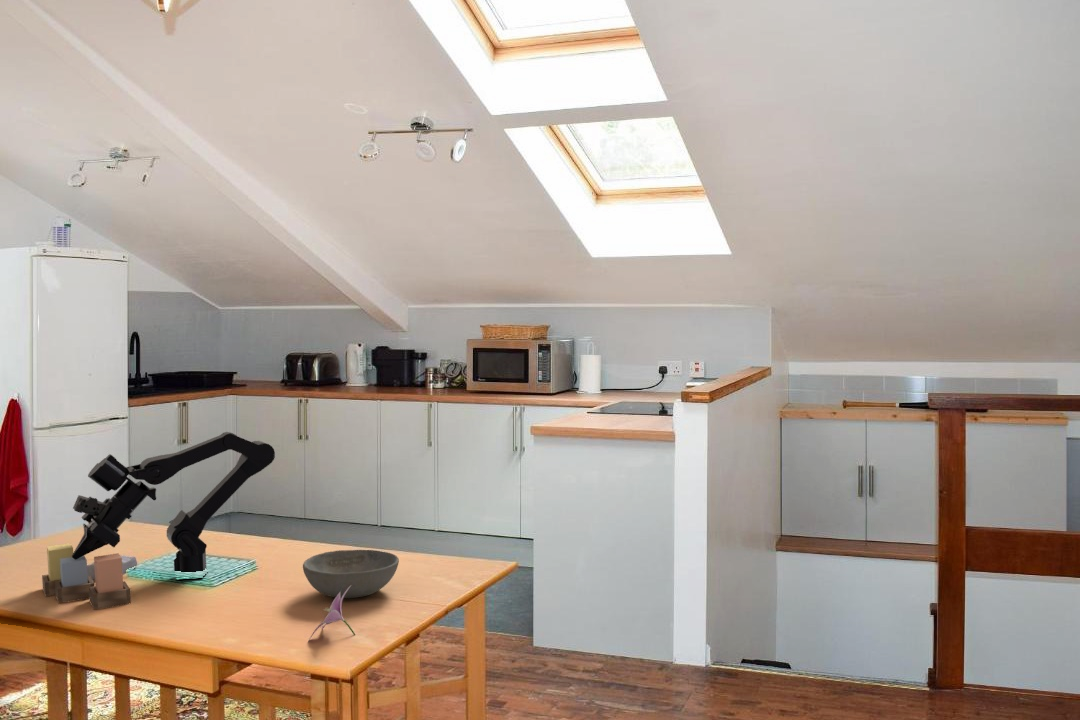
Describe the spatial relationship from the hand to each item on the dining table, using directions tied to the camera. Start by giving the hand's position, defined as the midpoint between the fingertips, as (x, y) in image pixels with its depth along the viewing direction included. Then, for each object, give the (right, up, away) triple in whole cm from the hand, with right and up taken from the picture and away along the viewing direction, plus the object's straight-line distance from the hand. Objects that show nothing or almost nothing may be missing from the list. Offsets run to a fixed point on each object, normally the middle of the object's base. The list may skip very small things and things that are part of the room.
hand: (73, 558), depth 212 cm
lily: (+66, -9, -29) cm, 72 cm away
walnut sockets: (+3, -9, 0) cm, 9 cm away
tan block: (+10, -6, -5) cm, 13 cm away
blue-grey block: (0, -8, 0) cm, 8 cm away
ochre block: (-6, -6, +6) cm, 10 cm away
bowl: (+64, -8, -3) cm, 65 cm away
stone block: (-1, -8, +19) cm, 21 cm away
